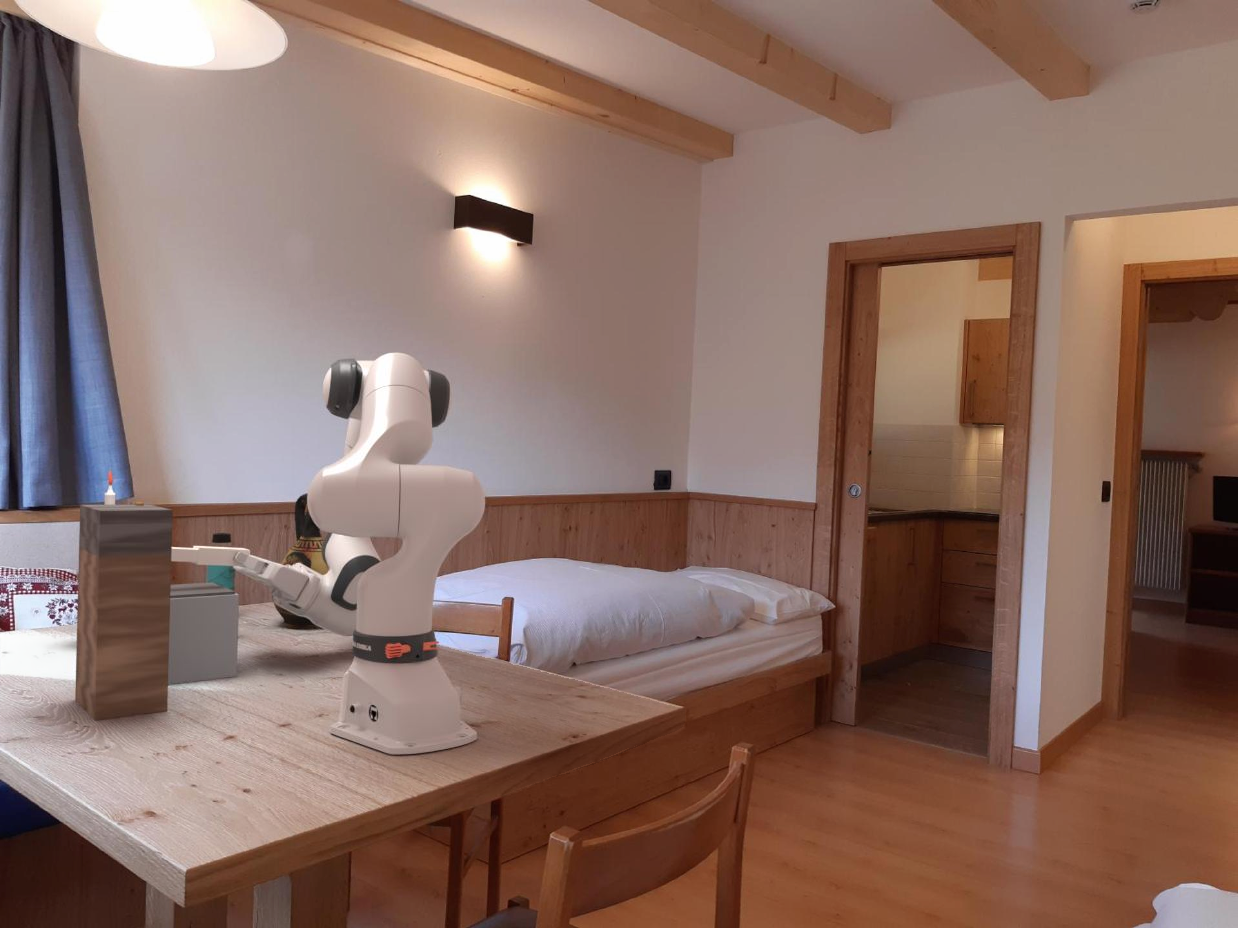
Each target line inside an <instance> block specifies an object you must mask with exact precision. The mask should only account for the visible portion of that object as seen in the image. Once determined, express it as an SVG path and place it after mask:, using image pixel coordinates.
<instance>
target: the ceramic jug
mask: <svg viewBox="0 0 1238 928" xmlns="http://www.w3.org/2000/svg"><path fill="white" fill-rule="evenodd" d="M307 495H308V492H307V493H303V494H301V495H300V496H299V497H298V498H297V499H296V501H295V505H294V523H295V538H296V541H295V543H294V545H293V546H292V547H291V548H290V549H289V550H288V553H287V554H286V555H285V556H284V558H283V560H282V562H281V563H280V564H282V565H291V566H292V565H293V564H295V563H301V564H303V565H305V566H307V567H308V568H310V569H312V570H314V571H316V572H317V573H319V574H321V575H325V574H327V573H328V571H329V568H328V567H327V565H326V564H325V562H324V560H323V558H322V545H323V542H324V540H325V539H323V536H322V534H321V530H320V529H319V528H318V527H317V525H316V524H315V523H314V521H313V520H312V518H311V516H310V513H309V510H308V509H307V508H306V507H307ZM306 510H307V511H306ZM305 511H306V512H305ZM271 598H272V602H273V604H274V607H275V610H276V611H277V612H278V613H279V615H280V616H281V618H282V619H283V626H284V627H287V628H289V629H293V630H296V629H297V630H298V629H304V630H313V629H315V630H316V629H318V628H320V627H319V626H317V625H315V624H314V623H312V622H311V621H310V620H309V619H308V618H306V617H303V616H298V615H296V614H294V613H292V612H290V611H288V610H286V609H284V608H282V607H280V606H278V605H276V604H275V603H274V601H273V595H272V594H271Z"/></svg>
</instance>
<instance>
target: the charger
mask: <svg viewBox="0 0 1238 928" xmlns="http://www.w3.org/2000/svg"><path fill="white" fill-rule="evenodd" d="M238 551H239V552H242V553H244V554H246V555H248V556H250V555H251V550H250V549H248V548H244V547H227V546H208V545H193V546H192V547H180V546H179V547H178V546H177V547H176V546H175V547H174V546H172V553H171V562H180V563H182V562H183V563H192V564H195V565H197V566H198V565H199V566H203V565H204V566H207V565H220V566H244V565H243V564H241V563H239V562H237V561H235V560H234V559H233V557H234V555H235V553H236V552H238Z"/></svg>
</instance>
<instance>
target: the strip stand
mask: <svg viewBox="0 0 1238 928" xmlns="http://www.w3.org/2000/svg"><path fill="white" fill-rule="evenodd" d="M173 511H174V509H170V508H166V507H161V506H157V505H154V504H149V503H147V504H145V503H144V502H134V504H132V503H131V504H129V503H128V504H126V503H125V504H121V503H120V504H115V505H105V504H79V530H78V531H79V535H78V537H79V538H78V540H79V541H78V571H77V572H78V573H77V574H78V581H77V616H76V649H75V650H76V652H75V653H76V655H75V656H76V657H75V659H76V662H75V695H74V699H75V701H76V702H77V703H78V704H79V706H80V707H82V709H83V710H84V711H85V712H86V713H87V714H88V715H89V716H90V717H91V718H92V719H93V720H94V721H101V720H107V719H114V718H123V717H130V716H137V715H145V714H152V713H153V714H154V713H160V712H162V713H163V712H167V711H168V705H169V703H168V700H169V697H168V696H169V695H168V694H169V684H168V667H169V629H170V591H171V585H172V584H171V581H172V580H171V579H172V561H171V553H172V547H173V514H174V513H173Z"/></svg>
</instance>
